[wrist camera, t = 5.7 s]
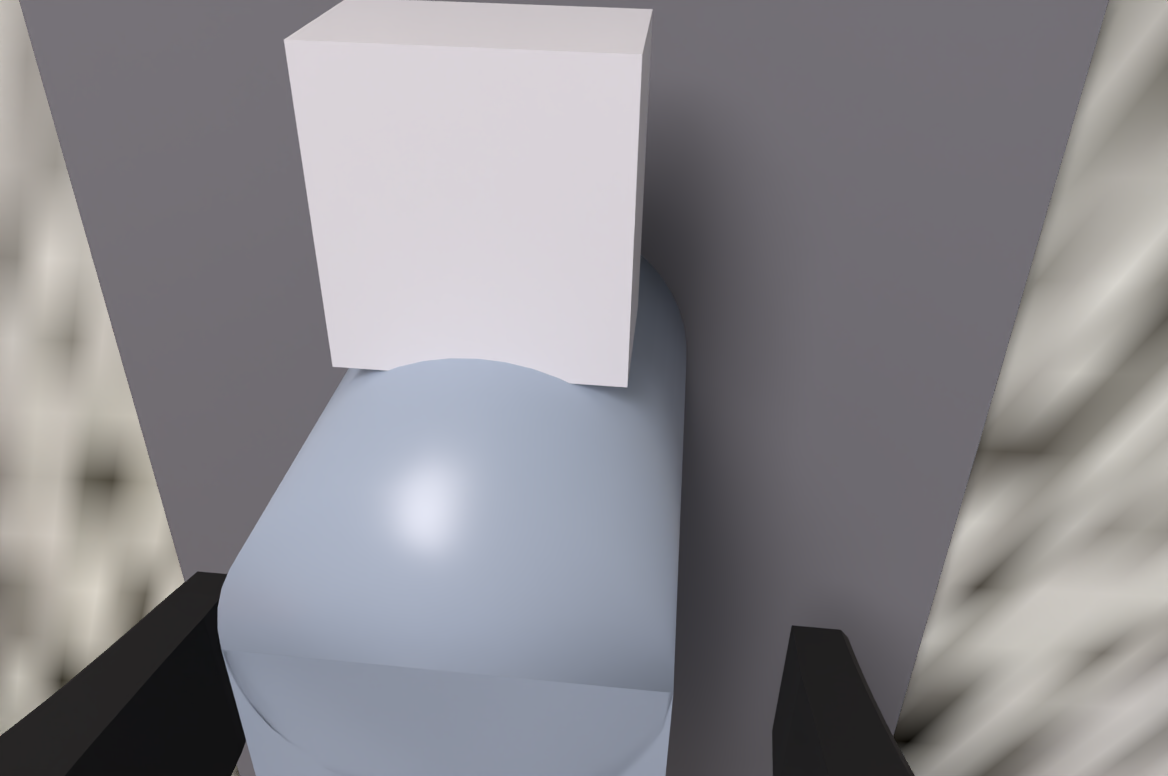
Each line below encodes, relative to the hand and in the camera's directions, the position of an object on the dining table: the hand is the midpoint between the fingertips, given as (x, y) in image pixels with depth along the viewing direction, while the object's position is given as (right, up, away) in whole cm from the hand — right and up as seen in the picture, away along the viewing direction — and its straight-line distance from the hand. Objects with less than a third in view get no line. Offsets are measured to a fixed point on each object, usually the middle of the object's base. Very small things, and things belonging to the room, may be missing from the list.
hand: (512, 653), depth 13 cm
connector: (0, +3, +1) cm, 3 cm away
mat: (0, +2, +2) cm, 3 cm away
